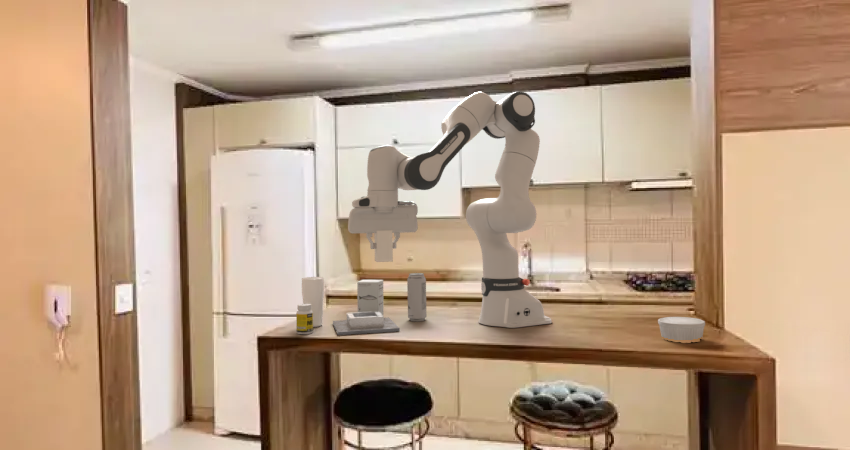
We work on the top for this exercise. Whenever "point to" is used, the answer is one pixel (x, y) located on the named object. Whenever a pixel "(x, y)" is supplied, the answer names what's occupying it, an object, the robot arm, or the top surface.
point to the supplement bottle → (304, 319)
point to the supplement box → (370, 295)
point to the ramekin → (681, 328)
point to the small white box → (383, 246)
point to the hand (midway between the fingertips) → (383, 248)
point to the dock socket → (365, 323)
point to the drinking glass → (314, 297)
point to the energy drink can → (416, 297)
